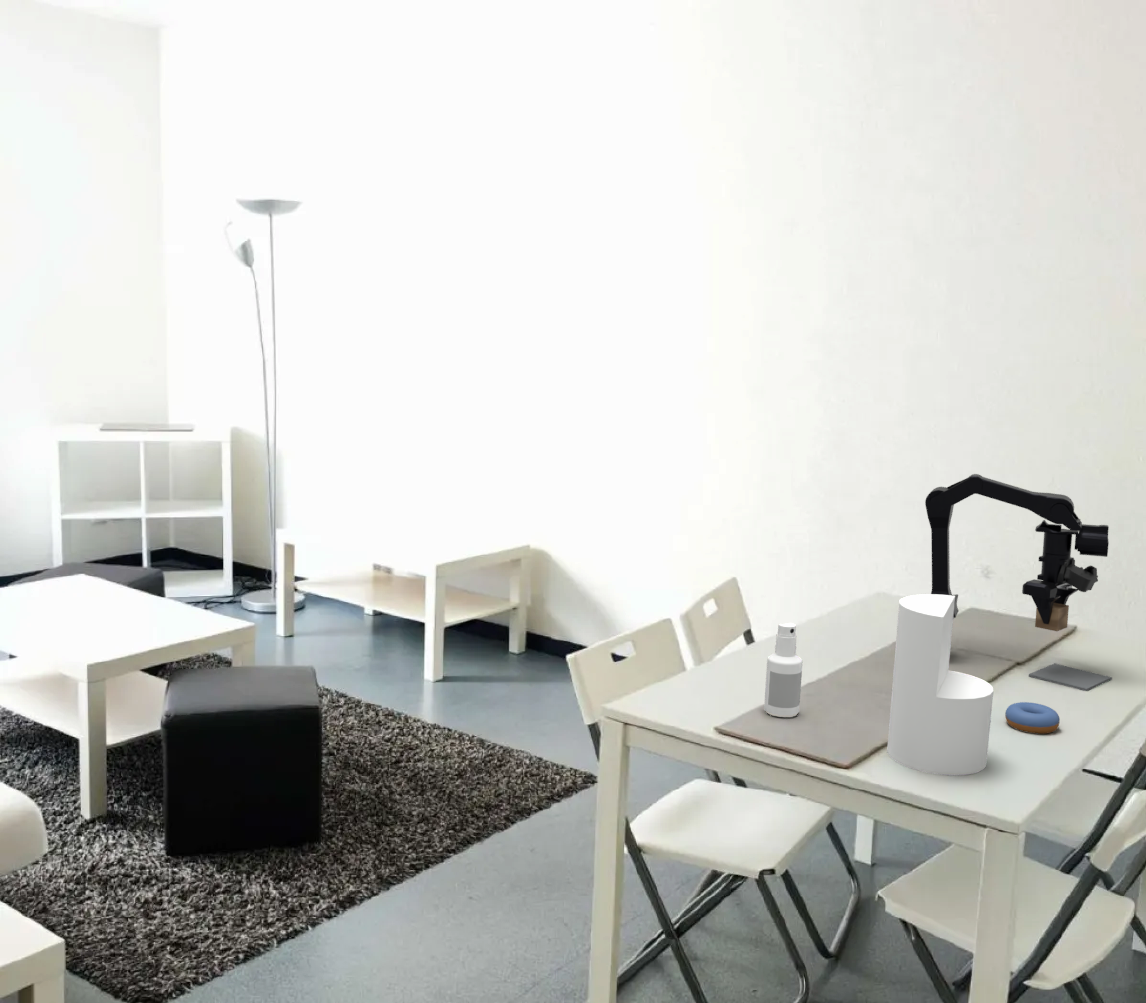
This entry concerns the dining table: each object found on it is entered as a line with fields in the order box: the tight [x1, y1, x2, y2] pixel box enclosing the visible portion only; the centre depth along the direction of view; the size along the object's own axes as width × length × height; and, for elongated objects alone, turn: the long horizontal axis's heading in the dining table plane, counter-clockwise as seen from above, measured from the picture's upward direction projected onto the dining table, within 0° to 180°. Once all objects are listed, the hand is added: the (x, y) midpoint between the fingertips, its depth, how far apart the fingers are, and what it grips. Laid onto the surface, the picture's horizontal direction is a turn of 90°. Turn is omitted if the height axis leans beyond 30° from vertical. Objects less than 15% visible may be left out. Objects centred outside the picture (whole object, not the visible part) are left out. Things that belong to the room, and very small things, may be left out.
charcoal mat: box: [1028, 662, 1113, 692], centre depth 268 cm, size 13×13×1 cm
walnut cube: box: [1034, 603, 1070, 632], centre depth 267 cm, size 5×5×5 cm
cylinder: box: [886, 593, 994, 776], centre depth 216 cm, size 17×17×28 cm
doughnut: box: [1005, 701, 1060, 735], centre depth 236 cm, size 10×10×5 cm
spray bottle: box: [763, 622, 804, 715], centre depth 237 cm, size 7×7×18 cm
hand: (1051, 621), depth 268 cm, fingers closed on walnut cube, 5 cm apart
